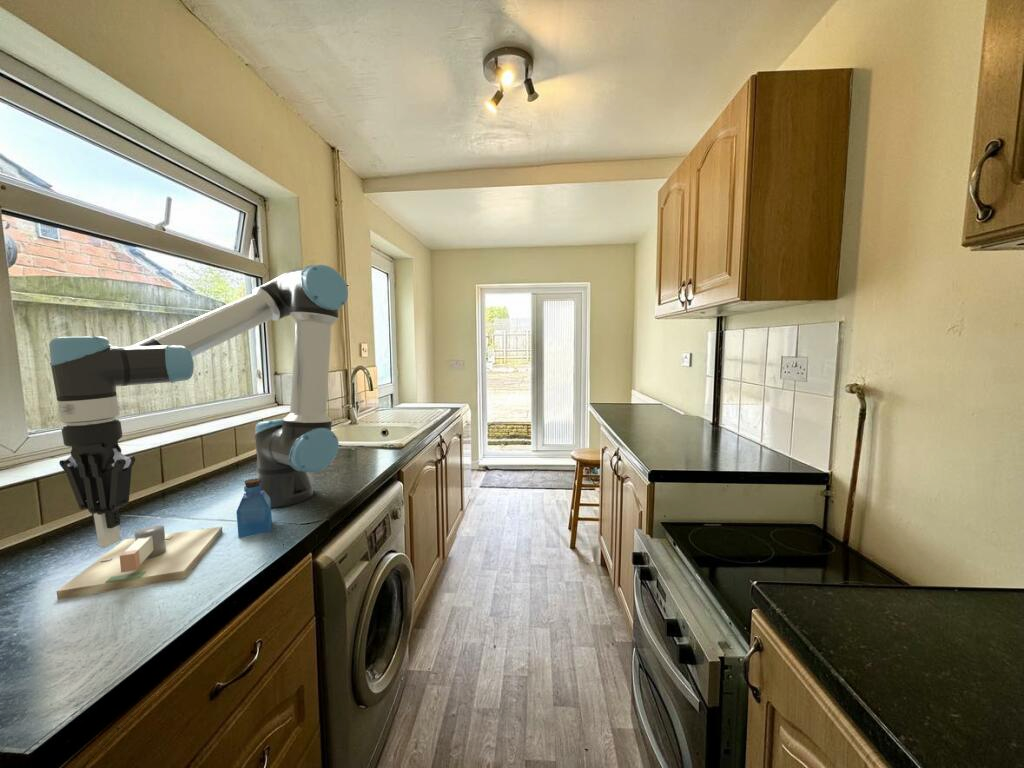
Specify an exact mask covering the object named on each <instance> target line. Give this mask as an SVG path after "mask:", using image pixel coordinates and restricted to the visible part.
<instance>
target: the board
mask: <svg viewBox="0 0 1024 768" xmlns="http://www.w3.org/2000/svg"><path fill="white" fill-rule="evenodd" d="M222 534H223V526H217V527H210V528H201V529H195V530H187V531H177V532H171V533H165V542H166V552H165V553H163V554H161V555H159V556H157V557H154V558H150V559H145V560H144V561H143V562H142V564H141V565H140V566H139V567H138V569H137V570H133V571H127V572H122V573H121V566H120V555H121V554H122V553H123V552H125V551H126V550H127V549H128V548H129V547H130V546H131V545H132V544H133V543H134V542H135V537H134V538H128V539H127V538H126V539H124V540H121V542H120V543H118V544H117V545H116V546H114V547H113V548H112V549H110V550H108V552H106V553H105V554H104V555H103V556H101V557H100V558H98V559H97V560H96V561H95V562H92V563H91V564H90V565H89V566H87V568H85V569H84V570H83V571H81V572H80V573H79V574H77V575H76V576H75V577H73V578H72V579H71V580H69V581H68V582H67V583H65V584H64V585H62V586H61V587H60V588H59V589H57V590H56V597H57V598H56V599H57V600H62V599H69V598H74V597H75V598H76V597H79V596H80V597H81V596H88V595H94V594H98V593H99V594H100V593H106V592H111V591H118V590H123V589H130V588H135V587H140V586H148V585H154V584H159V583H165V582H171V581H178V580H183V579H186V577H187V576H188V575H189V573H190V572H191V571H193V569H194V568H195V566H196V565H197V564H198V563H199V562H200V561H201V560H202V558H203V557H204V556H205V555H206V554H207V552H208V551H209V550H210V549H211V547H212V546H214V544H215V542H216V541H217V540H218V539H219V537H221V535H222Z"/></svg>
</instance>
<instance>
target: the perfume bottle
mask: <svg viewBox="0 0 1024 768" xmlns="http://www.w3.org/2000/svg"><path fill="white" fill-rule="evenodd" d="M244 484H245V485H244V487H243V490H244V493H243V496H242V498H241V499H240V502H239V505H238V507H237V509H236V525H237V535H238V536H237V537H238V538H237V539H241V538H247V537H252V536H257V535H262V534H268V533H271V530H272V524H273V517H272V508H271V501H270V497H269V496H268V495H267V493H266V492H265V491H264V490H263V491H260V489H261V488H262V486H261V484H260V479H258V477H257V478H249V479H246V480H244Z"/></svg>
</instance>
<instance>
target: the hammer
mask: <svg viewBox="0 0 1024 768" xmlns="http://www.w3.org/2000/svg"><path fill="white" fill-rule="evenodd" d="M165 534H166V533H165V526H164V525H161V524H160V525H150V526H146V527H143V528H140V529H138V530H136V531H135V532H134V538H135V542H134V543H133V544H132V545H131V546H130V547H129V548H128V549H127V550H126V551H125V552H123V553H122V554H121V555H120V566H121V573H122V572H127V571H133V570H137V569H138V567H139V566H140V565H141V564H142V562H143V561H144V560H145V559H150V558H154V557H157V556H159V555H161V554H163V553H165V552H166V542H165Z"/></svg>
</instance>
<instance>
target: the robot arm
mask: <svg viewBox="0 0 1024 768" xmlns="http://www.w3.org/2000/svg"><path fill="white" fill-rule="evenodd" d="M348 298H349V289H348V284H347V283H346V280H345V278H344V277H342V275H341V274H340V272H339V271H337V270H336V269H335V268H333V267H331V266H329V265H325V264H316V265H315V264H311V265H308V266H307V265H306V267H303V268H298V269H294V270H293V269H292V270H289V271H286V272H284V273H282V274H281V275H279V276H278V275H277V277H275V278H273V279H271V280H270V281H268V282H266V283H263V284H262V285H259V286H257V287H255V288H254V289H252V294H249V295H247V296H245V297H242V298H240V299H237V300H235V301H233V302H230V303H227V304H226V305H223V306H221V307H219V308H216V309H214V310H212V311H209V312H207V313H205V314H202V315H200V316H198V317H196V318H193V319H191V320H188V321H186V322H184V323H181V324H179V325H177V326H174V327H172V328H169V329H167V330H165V331H163V332H160V333H158V334H156V335H153V336H151V337H149V338H147V339H144V340H142V341H140V342H137V343H135V344H132V345H130V346H123V347H121V346H112V344H111V343H110V340H109V339H108V338H107V337H105V336H59V337H55V338H53V339H52V340H50V341H49V343H48V345H49V346H48V347H49V356H50V363H49V364H50V369H51V373H52V374H51V375H52V379H53V385H54V390H55V397H56V401H57V404H58V406H57V407H58V412H59V413H58V414H59V418H60V423H63V424H65V425H63V426H62V427H61V435H62V440H63V441H62V442H63V445H64V446H66V447H68V448H70V447H71V450H70V456H69V457H68V458H65V459H61V460H59V464H58V465H59V466H60V467H61V469H62V470H63V471H64V472H65V473H66V477H67V479H68V482H69V484H70V487H71V489H72V492H73V495H74V497H75V500H76V503H77V506H78V508H79V509H80V510H87V511H88V512H89V513H90V514H91V517H92V523H93V526H94V528H95V532H96V537H97V544H98V545H97V546H98V548H107V547H110V546H112V545H114V544H116V543H118V542H120V541H122V537H121V530H120V529H121V527H120V526H121V518H120V510H119V509H120V508H121V507H124V506H126V505H128V504H129V502H130V491H131V480H132V479H131V478H132V468H133V466H134V463H136V457H135V456H134V455H131V456H127V455H125V454H123V453H122V449H121V447H120V445H119V440H120V439H122V437H123V429H122V423H121V422H122V421H121V420H119V418H118V417H120V415H121V413H120V406H119V401H118V394H117V387H126V386H135V385H139V386H140V385H150V384H151V385H152V384H163V383H171V384H173V383H176V382H184V381H188V380H190V379H191V378H192V377H193V375H194V369H195V367H194V366H195V364H194V360H193V357H195V356H198V355H200V354H201V353H202V354H203V352H206V351H208V350H211V349H213V348H214V347H216V346H218V345H220V344H223V343H224V342H227V341H228V340H231V339H233V338H235V337H237V336H239V335H241V334H243V333H246V332H247V331H250V330H251V329H253V328H256V327H257V326H259V325H262V324H264V323H266V322H268V321H271V320H272V321H275V322H276V321H277V322H278V321H279V320H281V319H283V318H285V317H288V316H290V317H291V318H292V319H293V320H294V321H295V332H294V345H293V346H294V347H293V361H292V376H291V377H292V379H291V393H290V410H289V413H288V414H287V415H285V417H283V418H279V419H278V418H276V419H270V420H263V421H260V422H258V423H256V425H255V430H254V431H255V432H254V437H255V448H256V449H255V450H256V460H257V461H256V462H257V478H258V479H260V484H261V486H262V488H261V489H260V491H263V490H264V491H265V492H266V493H267V495H268V496H269V497H270V501H271V509H272V508H281V507H285V506H286V507H287V506H290V505H291V506H292V505H295V504H297V503H301V502H303V501H306V500H308V499H309V498H311V497H312V496H313V495H314V486H313V483H312V481H311V478H310V477H309V475H308V473H316V472H320V471H322V470H324V469H325V468H328V466H330V464H331V463H332V462H334V460H335V458H336V457H337V455H338V452H339V447H340V446H339V445H340V443H339V438H338V437H337V436H336V434H335V433H334V431H332V424H333V423H332V422H333V419H332V418H331V417H330V416H329V415H328V414H327V405H328V404H327V403H328V402H327V401H328V389H329V374H330V373H329V371H330V358H331V357H330V356H331V342H332V341H331V339H332V326H333V325H335V324H336V322H338V321H339V312H340V308H342V307H343V306H344V305H346V303H347V301H348ZM117 418H118V419H117Z"/></svg>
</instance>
